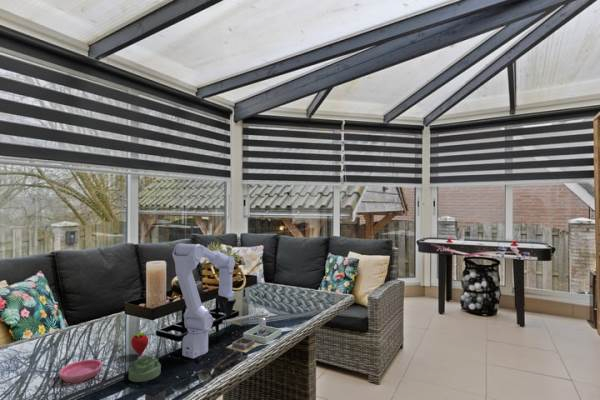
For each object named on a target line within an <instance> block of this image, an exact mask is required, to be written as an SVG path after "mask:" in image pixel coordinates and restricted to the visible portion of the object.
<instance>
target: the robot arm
mask: <svg viewBox="0 0 600 400" xmlns="http://www.w3.org/2000/svg"><path fill="white" fill-rule="evenodd" d="M172 258H173V261H174V265H175V266H174V267H175V274H176V275H175V276H176V278H177V281H178V284H179V288H180V290H181V293H182V296H183V300H184V303H185V305H186V306H185V307H186V310H185V312H184V313H183V319H184V322H183V323H184V327H185V328H186V329H187V332H188V333H187V334H185V335H184V336H183V338H182V341H181V343H182V344H181V346H182V351H181V352H182V353H181V355H182V356H184V357H187V358H189V359H195V358H197V357H198V358H199V356H203V355H205V354H207V353H208V351H209V331H210V330H211V328H212V326H213V323H214V319H213V316H212V314H211V313H210V311H209V309H207V308H206V307H205V306H204V305H203V303H202V301H201V297H200V294H199V293H200V292H199V291H198V286H197V283H196V281H195V277H194V274H193V271H194V270H195V269H196V268H197V266H198V265H199V263H200V261H201V260H202V258H206V259H207V261H208V262H209V263H210V264H212V265H214V266H216V267H217V268H218V276H219V277H218V291H217V292H218V295H215V299H216V300H217V303H218V306H219V311H220V312H224V313H225V316H226V317H231V316H232V315H233V309H234V306H235V303H236V301H237V300H236V298H234V294H235V292H236V291H234V290H233V273H234V270H235V269H234V268H235V265H236V261H235V258H234V257H233V255H227V254H226V253H225V252H221V250H220V249H215V250H210V249H209V248H207V247H206V246H204V244H203V245H202V244H200V243H197V244H196V243H182V242H181V243H180V242H179V243H177V244H176V245H175V246H174V249H173V250H172Z"/></svg>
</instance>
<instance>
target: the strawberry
mask: <svg viewBox="0 0 600 400" xmlns="http://www.w3.org/2000/svg"><path fill="white" fill-rule="evenodd" d="M137 331H138V333H137V334H133V335H131V337H132V338H131V341H130V343H131V348H133V350H134V351H135V352H136V354H137V355H138V356H142V355H143V353H144V351H146V349H147V347H148V344H149V337H148V335H147V333H146V332H141V331H139V330H138V329H137Z"/></svg>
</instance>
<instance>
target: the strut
mask: <svg viewBox="0 0 600 400" xmlns="http://www.w3.org/2000/svg"><path fill="white" fill-rule="evenodd" d="M258 325H259V331H257V336H262V337H267V336H268V332H267V331H266V326H267V319H266V317H258Z"/></svg>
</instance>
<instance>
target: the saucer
mask: <svg viewBox="0 0 600 400" xmlns="http://www.w3.org/2000/svg"><path fill="white" fill-rule="evenodd" d="M102 368H103V362H102V361H101V360H99V359H84V360H78V361H74V362H71V363H69V364H67V365H65V366H63V367H62V368H61V369H59V371H58V377H59V378H60V379H61V380H63V381H64V382H65V381H66V383H67V382H71V383H70V384H76V383H75V382H78V383H82V381H83V382H85V380H86V381H88V379H89V380H90V378H91V379H93V378H94V377H95V376H97V374H98V373H100V372H101V370H102ZM92 377H93V378H92Z"/></svg>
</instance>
